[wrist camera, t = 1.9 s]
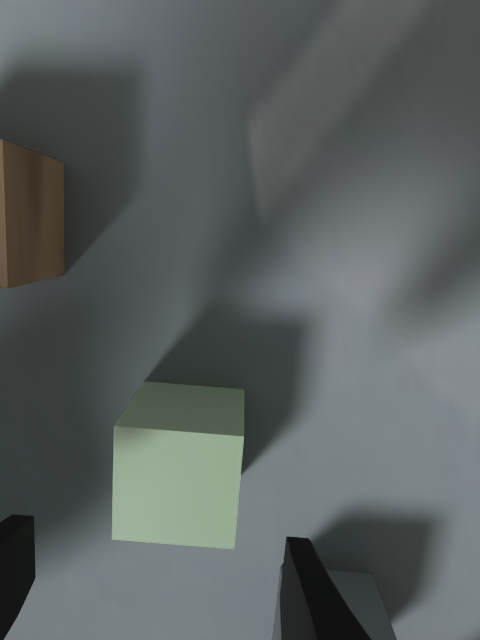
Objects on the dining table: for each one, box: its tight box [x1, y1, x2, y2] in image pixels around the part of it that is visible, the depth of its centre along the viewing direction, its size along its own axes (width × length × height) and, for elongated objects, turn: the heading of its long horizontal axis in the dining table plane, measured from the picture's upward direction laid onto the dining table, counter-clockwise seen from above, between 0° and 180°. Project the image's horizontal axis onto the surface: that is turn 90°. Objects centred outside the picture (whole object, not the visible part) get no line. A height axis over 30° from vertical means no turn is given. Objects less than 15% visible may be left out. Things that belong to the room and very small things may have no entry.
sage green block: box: [112, 381, 245, 549], centre depth 17 cm, size 4×4×4 cm
